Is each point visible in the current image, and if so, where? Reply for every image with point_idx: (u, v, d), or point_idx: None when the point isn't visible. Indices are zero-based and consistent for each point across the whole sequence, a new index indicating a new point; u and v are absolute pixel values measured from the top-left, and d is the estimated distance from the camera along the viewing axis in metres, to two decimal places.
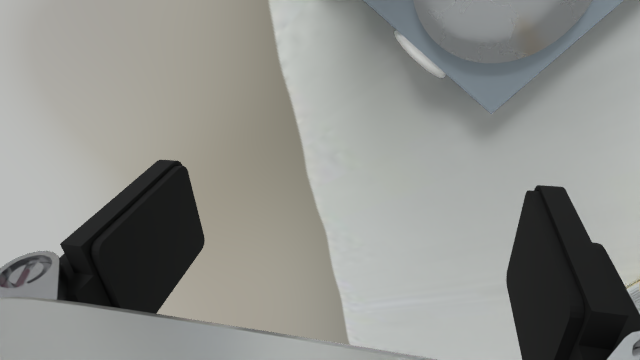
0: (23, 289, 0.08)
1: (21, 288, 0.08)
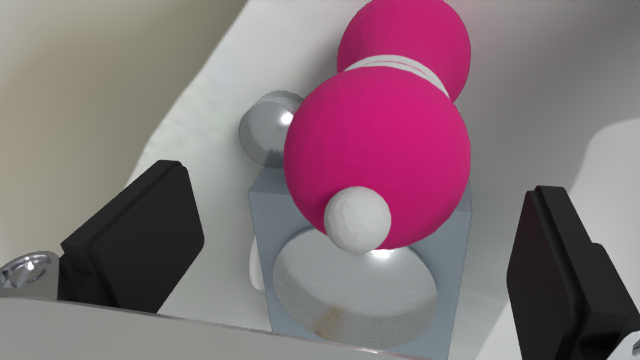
0: (23, 289, 0.08)
1: (21, 288, 0.08)
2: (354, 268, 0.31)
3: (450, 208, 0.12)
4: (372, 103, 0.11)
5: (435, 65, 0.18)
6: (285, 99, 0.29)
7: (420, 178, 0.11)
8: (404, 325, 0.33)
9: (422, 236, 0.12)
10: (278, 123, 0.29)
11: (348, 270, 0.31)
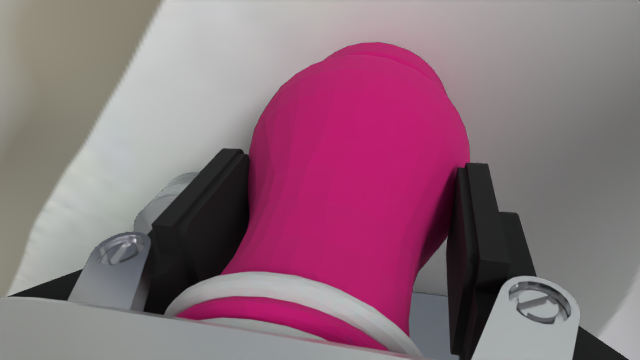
0: (114, 268, 0.08)
1: (113, 266, 0.08)
2: None
3: None
4: None
5: (403, 230, 0.09)
6: None
7: None
8: None
9: None
10: None
11: None
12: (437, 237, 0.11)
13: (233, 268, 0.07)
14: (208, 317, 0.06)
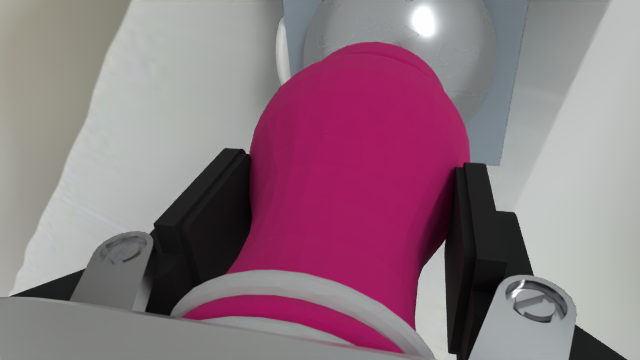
0: (116, 268, 0.08)
1: (115, 266, 0.08)
2: (400, 22, 0.27)
3: None
4: None
5: (408, 227, 0.09)
6: None
7: None
8: (455, 103, 0.29)
9: None
10: None
11: (393, 27, 0.27)
12: (439, 235, 0.11)
13: (240, 267, 0.07)
14: (218, 315, 0.06)
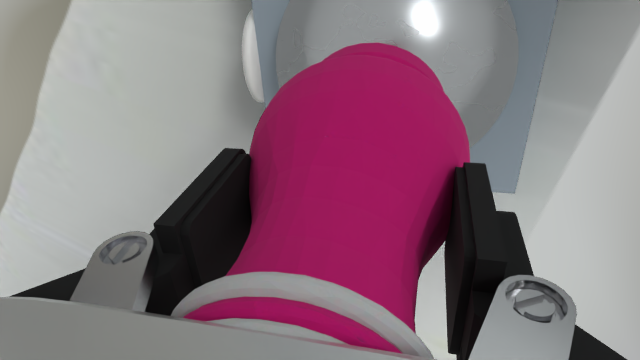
0: (116, 268, 0.08)
1: (115, 266, 0.08)
2: (396, 17, 0.21)
3: None
4: None
5: (408, 229, 0.09)
6: None
7: None
8: (463, 118, 0.23)
9: None
10: None
11: (386, 23, 0.21)
12: (439, 236, 0.11)
13: (239, 268, 0.07)
14: (217, 318, 0.06)
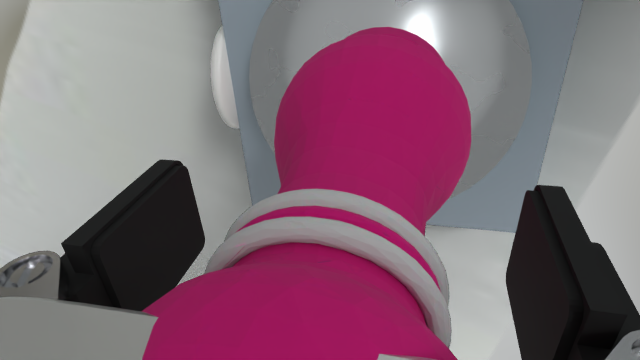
0: (24, 289, 0.08)
1: (22, 288, 0.08)
2: None
3: None
4: None
5: (418, 174, 0.11)
6: None
7: None
8: None
9: None
10: None
11: None
12: (444, 189, 0.13)
13: None
14: None
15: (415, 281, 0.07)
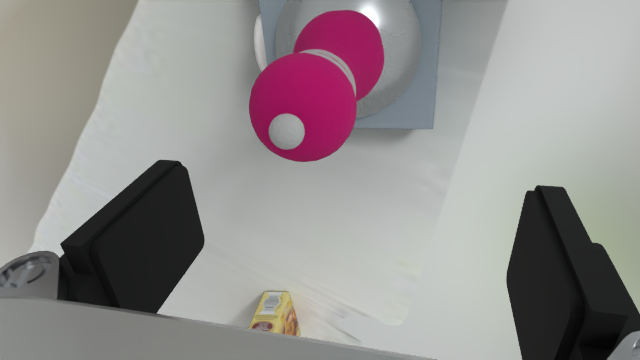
0: (23, 289, 0.08)
1: (21, 288, 0.08)
2: None
3: (342, 130, 0.22)
4: (294, 70, 0.21)
5: (350, 57, 0.28)
6: None
7: (320, 109, 0.21)
8: (393, 77, 0.37)
9: (328, 148, 0.22)
10: None
11: None
12: (366, 72, 0.30)
13: None
14: None
15: (339, 69, 0.24)
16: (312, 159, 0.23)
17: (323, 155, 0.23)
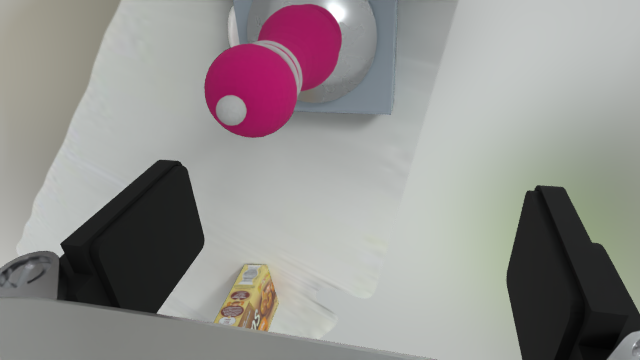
0: (23, 289, 0.08)
1: (21, 288, 0.08)
2: None
3: (280, 110, 0.26)
4: (239, 59, 0.25)
5: (301, 48, 0.31)
6: None
7: (260, 92, 0.24)
8: (352, 66, 0.41)
9: (270, 125, 0.26)
10: None
11: None
12: (318, 61, 0.33)
13: None
14: None
15: (285, 58, 0.28)
16: (257, 135, 0.27)
17: (267, 132, 0.27)
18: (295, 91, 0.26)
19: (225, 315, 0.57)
